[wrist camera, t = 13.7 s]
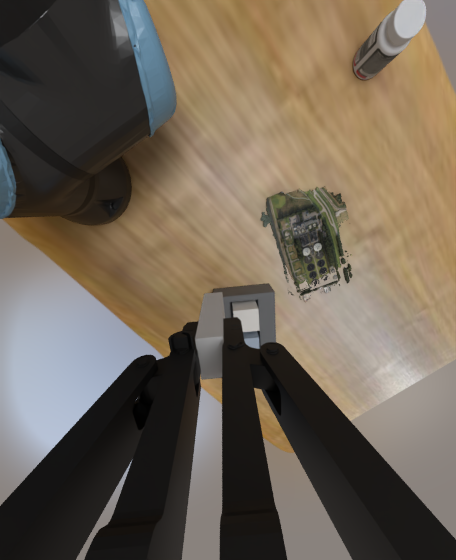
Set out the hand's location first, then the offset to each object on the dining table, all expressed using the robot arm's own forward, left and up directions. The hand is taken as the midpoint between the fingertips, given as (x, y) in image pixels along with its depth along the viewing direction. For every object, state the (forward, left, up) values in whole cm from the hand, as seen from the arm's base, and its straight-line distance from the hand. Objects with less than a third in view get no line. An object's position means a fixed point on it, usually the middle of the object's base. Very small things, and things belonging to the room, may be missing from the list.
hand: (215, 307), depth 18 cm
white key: (+4, -12, -22) cm, 26 cm away
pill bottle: (+27, +28, -27) cm, 47 cm away
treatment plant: (+19, 0, -27) cm, 33 cm away
